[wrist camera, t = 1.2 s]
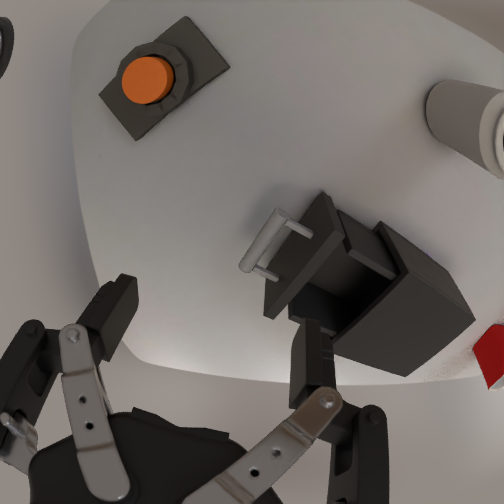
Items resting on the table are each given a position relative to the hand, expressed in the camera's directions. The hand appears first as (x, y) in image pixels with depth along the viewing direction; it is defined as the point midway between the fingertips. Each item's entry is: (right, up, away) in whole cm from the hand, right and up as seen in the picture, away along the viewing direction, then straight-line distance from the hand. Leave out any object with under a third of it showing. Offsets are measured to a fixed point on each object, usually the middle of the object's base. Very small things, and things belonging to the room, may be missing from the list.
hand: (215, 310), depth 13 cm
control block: (-7, +20, +11) cm, 24 cm away
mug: (+51, -13, +28) cm, 60 cm away
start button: (-7, +18, +9) cm, 21 cm away
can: (+23, +18, +10) cm, 30 cm away
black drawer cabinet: (+20, -1, +23) cm, 30 cm away
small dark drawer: (+10, +3, +20) cm, 22 cm away
